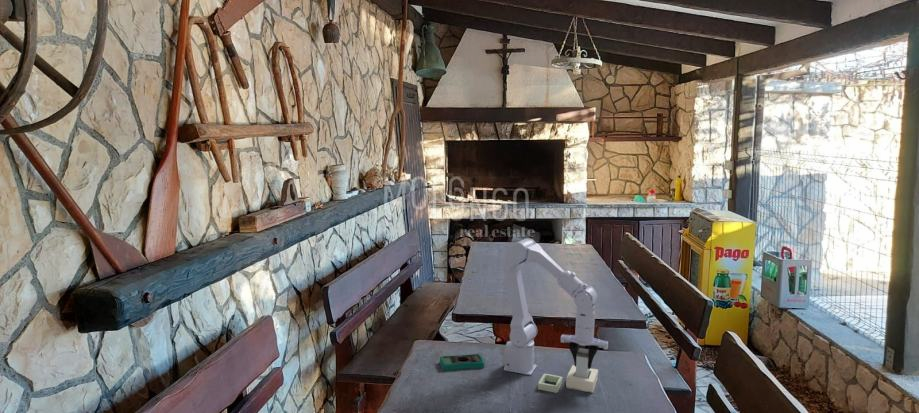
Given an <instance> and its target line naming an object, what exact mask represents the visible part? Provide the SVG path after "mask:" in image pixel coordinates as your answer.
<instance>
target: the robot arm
mask: <svg viewBox="0 0 919 413" xmlns="http://www.w3.org/2000/svg"><path fill="white" fill-rule="evenodd" d="M505 251H506V255H505V259H504V261H503V272H504V277H505V282H506V287H507V288H506V289H507V293H508V298H509V305H510V309H511V314H512V319H511V321H510V325H509V327H510V332H509V341H506V344H505V349H504V364H503V366H504V368H503V371H504V372H505V371H506V372H512V373H518V374H522V375H528V376H531V375H533V373H534V371H535V369H536V368H537V366H538V365H537V364H536V363H534V359H535V355H534V354H535V341H534V340H535V339H534V338H536V336H537V335H538V327H537V325H536V323H535V322H534V319H533V316H532V315H530V314H529V309H528V304H527V303H528V302H527V297H526V292H525V286H524V281H523V276H522V269H521V267H522V266H523V265H524V264H525V262H526V263H532V264H533V263H535V264H537V265H539V266H540V267H542V268H543V269H544V270H545V271H547V272H548V273H549V274H551V275H552V276H553V277H555V279H556V282H557V284H556V285H557V286H559V287H560V288H561V289H562V290H563V291H564V292H566V293H567V294H568V295H569V296H570V297H572V298H573V302H574V305H575V306H576V312H575V330H574V331H575V334H561V336H560V343H568V344H569V345H568V349H569V351H570V353H571V356H572V358H573V363H574V366H575V367H576V356H577V352H578V350H579V348H580V346H583V347H584V346H586V347H587V346H589V348H588V349H589V362H588V369H590V368H591V369H592V363H593V359H594V357H595V355H596V354H597V352H598V350H599V349H604V350H608V348H609V341H608V340H607V341H606V340H603V339H600V338H596V337H595V321H596V319H595V318H596V304H595V303H596V302H597V300H598V298H599V294H598V291H597V290H596V289H595V287H594V286H591V285H588V284H587V283H585V282H583V281H582V280H581V279H580V278H578V277H577V273H575V272H574V271H570V270H564V269H563V268H562V267H561V266H560V265H559V264H558V263H557V262H555V260H554V259H553V258H552V257H550V255H549V254H548V253H546V251H545V250H544V249H543V248H542V246H541V245H540V244H538V243H537V242H536V241H535V240H534V239H532V238H530V237H526V238H525V237H524V239H522V240H518V241H516V242H513V243H512V244H510V246H509V247H507V249H506V250H505Z"/></svg>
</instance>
